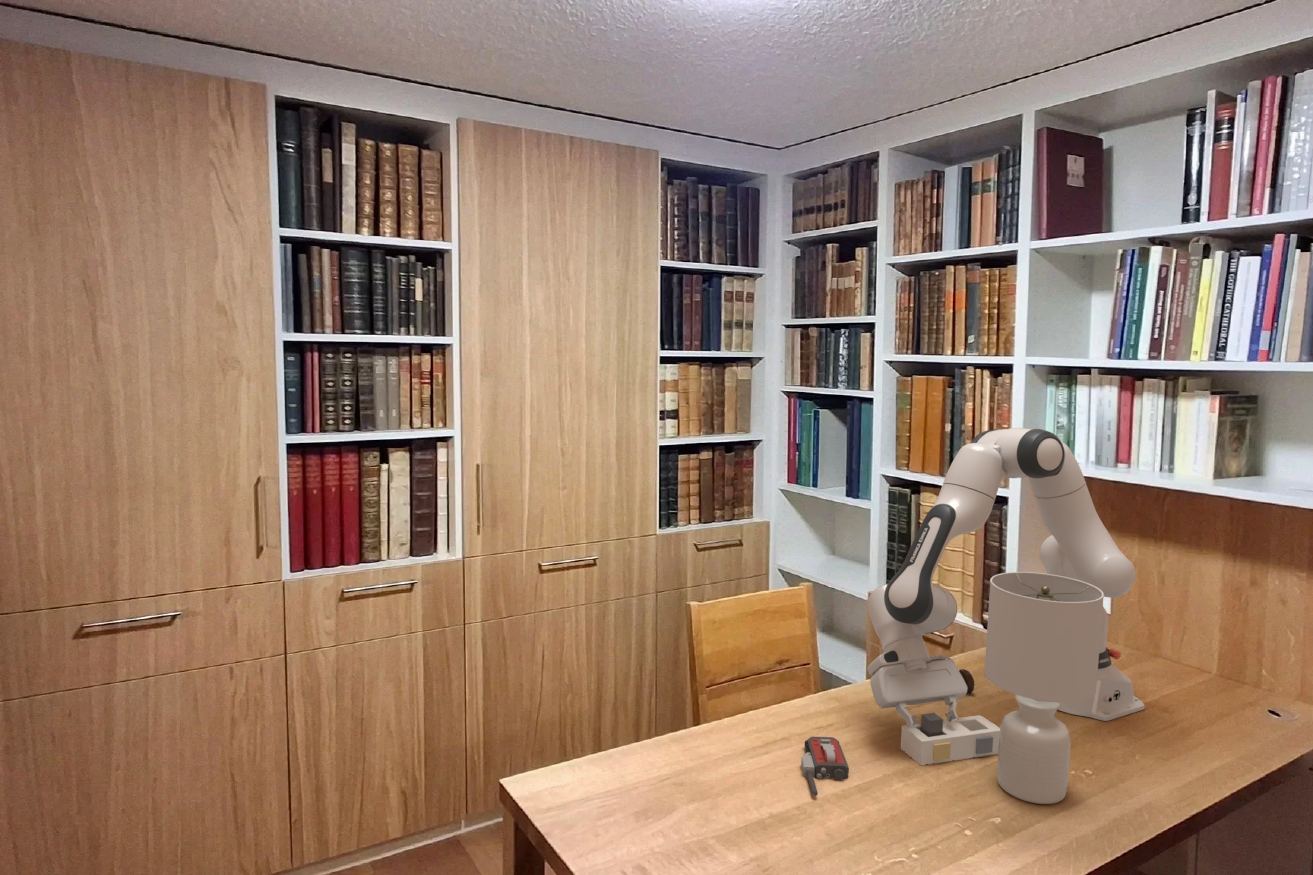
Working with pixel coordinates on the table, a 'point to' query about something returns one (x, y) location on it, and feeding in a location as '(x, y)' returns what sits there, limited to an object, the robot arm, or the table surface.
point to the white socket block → (952, 741)
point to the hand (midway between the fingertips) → (933, 723)
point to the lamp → (1040, 673)
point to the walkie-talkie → (823, 760)
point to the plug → (931, 724)
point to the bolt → (967, 679)
